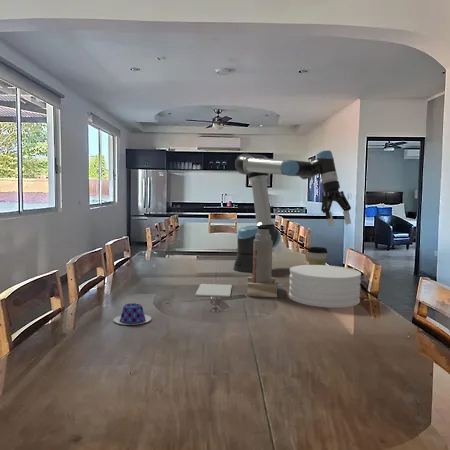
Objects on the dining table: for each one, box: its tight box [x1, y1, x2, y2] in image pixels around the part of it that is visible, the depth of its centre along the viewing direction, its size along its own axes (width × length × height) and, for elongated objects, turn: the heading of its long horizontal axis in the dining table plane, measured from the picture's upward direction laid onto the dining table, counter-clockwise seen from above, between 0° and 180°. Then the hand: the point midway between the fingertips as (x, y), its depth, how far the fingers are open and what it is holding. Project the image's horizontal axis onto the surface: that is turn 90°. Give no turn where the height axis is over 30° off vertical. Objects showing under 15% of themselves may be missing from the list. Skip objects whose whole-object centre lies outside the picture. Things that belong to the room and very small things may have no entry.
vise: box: [246, 276, 285, 298], centre depth 180 cm, size 15×15×5 cm
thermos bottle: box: [252, 226, 273, 284], centre depth 179 cm, size 8×8×28 cm
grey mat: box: [195, 283, 233, 298], centre depth 181 cm, size 20×14×1 cm
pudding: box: [113, 302, 152, 326], centre depth 137 cm, size 12×12×5 cm
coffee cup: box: [307, 246, 329, 265], centre depth 215 cm, size 10×10×15 cm
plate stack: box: [288, 264, 362, 309], centre depth 172 cm, size 28×28×12 cm
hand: (340, 224), depth 203 cm, fingers open, 13 cm apart
